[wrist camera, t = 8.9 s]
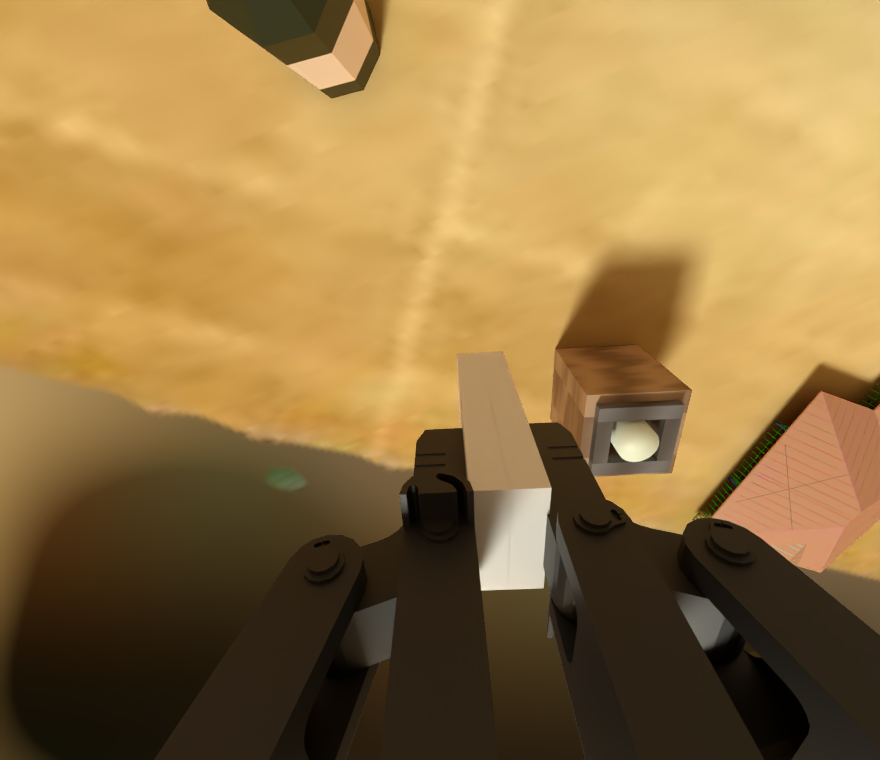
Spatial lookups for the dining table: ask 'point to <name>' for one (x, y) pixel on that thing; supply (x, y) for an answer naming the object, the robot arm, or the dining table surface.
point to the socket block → (618, 404)
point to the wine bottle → (311, 38)
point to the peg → (634, 440)
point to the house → (813, 484)
